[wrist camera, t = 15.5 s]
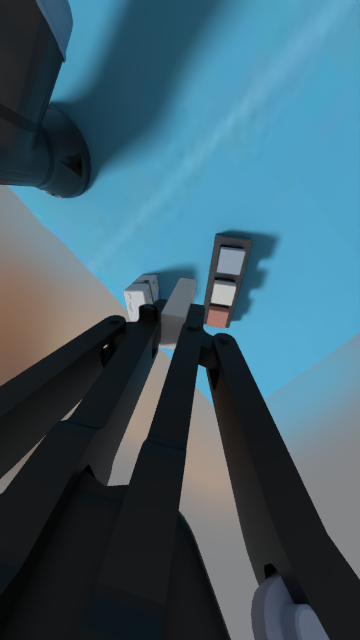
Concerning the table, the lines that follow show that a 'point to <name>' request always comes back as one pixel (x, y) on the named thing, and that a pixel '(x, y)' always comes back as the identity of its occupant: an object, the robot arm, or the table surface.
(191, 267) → the table surface
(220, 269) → the key slate
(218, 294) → the key white
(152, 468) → the robot arm
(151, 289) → the ink box
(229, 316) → the console
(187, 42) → the table surface
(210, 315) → the key brick
